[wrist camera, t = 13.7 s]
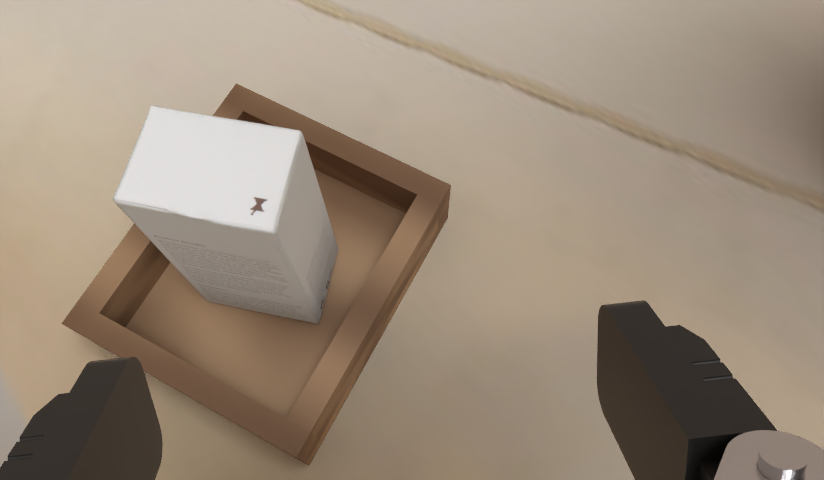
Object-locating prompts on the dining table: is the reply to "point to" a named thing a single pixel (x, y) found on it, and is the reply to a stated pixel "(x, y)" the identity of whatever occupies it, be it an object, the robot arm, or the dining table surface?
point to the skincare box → (233, 210)
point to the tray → (269, 334)
